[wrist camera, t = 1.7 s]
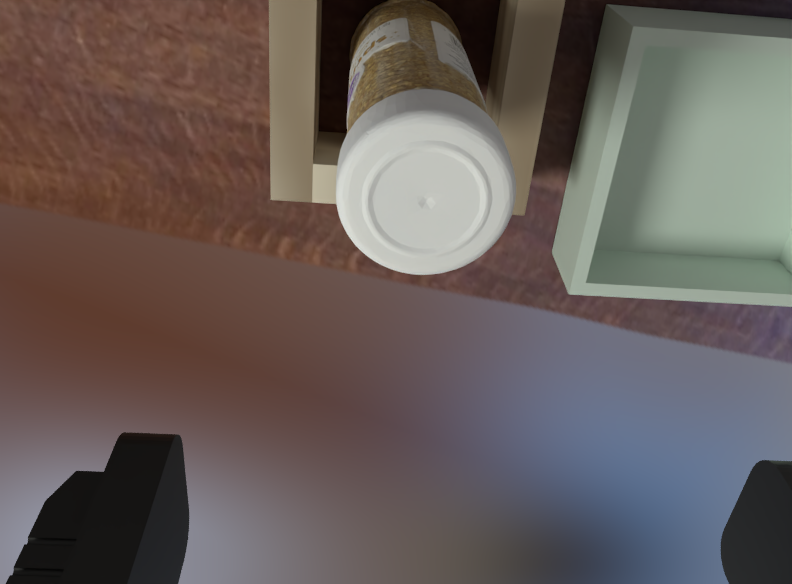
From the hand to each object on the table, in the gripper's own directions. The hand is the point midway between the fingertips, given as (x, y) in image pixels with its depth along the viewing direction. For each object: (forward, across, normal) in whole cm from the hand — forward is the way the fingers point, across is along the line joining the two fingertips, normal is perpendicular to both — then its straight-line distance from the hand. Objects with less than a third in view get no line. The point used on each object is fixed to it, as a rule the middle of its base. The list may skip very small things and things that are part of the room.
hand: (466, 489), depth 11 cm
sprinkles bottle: (+23, 0, 0) cm, 23 cm away
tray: (+23, -13, +3) cm, 26 cm away
